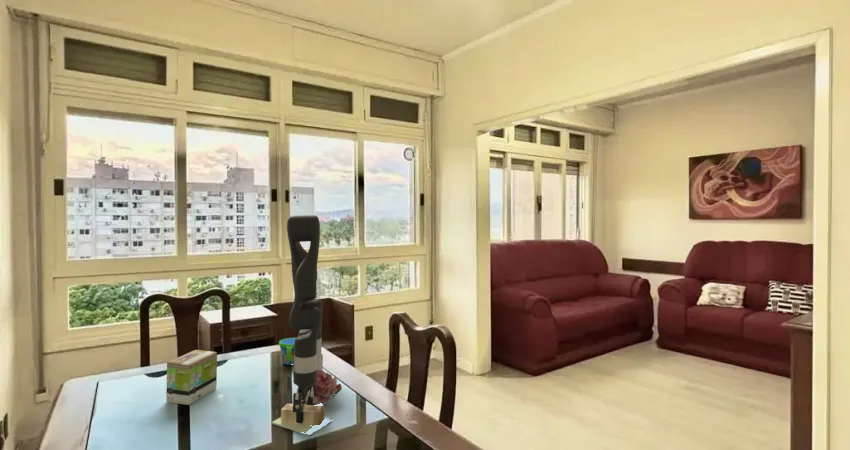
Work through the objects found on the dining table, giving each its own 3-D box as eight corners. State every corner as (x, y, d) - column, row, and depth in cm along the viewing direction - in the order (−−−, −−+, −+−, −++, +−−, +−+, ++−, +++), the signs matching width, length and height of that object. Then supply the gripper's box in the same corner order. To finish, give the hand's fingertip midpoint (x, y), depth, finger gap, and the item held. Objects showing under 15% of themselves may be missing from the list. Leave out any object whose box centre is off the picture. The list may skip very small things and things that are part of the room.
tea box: (190, 405, 161) (190, 364, 160) (165, 402, 163) (165, 361, 162) (217, 388, 176) (217, 350, 175) (194, 385, 178) (194, 348, 177)
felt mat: (295, 410, 160) (295, 408, 160) (332, 421, 153) (332, 419, 153) (271, 423, 150) (271, 422, 150) (310, 436, 143) (310, 434, 143)
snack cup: (284, 357, 212) (284, 335, 212) (307, 357, 212) (307, 335, 212) (274, 369, 197) (274, 346, 196) (298, 370, 197) (299, 346, 196)
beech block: (287, 403, 154) (324, 406, 152) (286, 416, 154) (324, 419, 153) (281, 409, 149) (319, 412, 148) (281, 423, 150) (319, 426, 148)
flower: (295, 386, 173) (300, 364, 170) (334, 386, 178) (339, 365, 176) (298, 414, 160) (303, 391, 157) (339, 413, 165) (345, 391, 162)
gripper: (308, 377, 142) (307, 427, 143) (323, 361, 156) (323, 407, 157) (285, 375, 143) (284, 425, 144) (302, 359, 157) (302, 405, 158)
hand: (304, 416), depth 151 cm, fingers open, 8 cm apart
